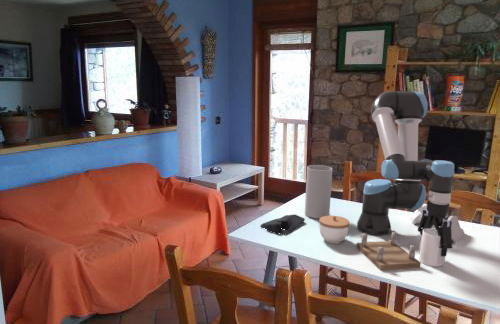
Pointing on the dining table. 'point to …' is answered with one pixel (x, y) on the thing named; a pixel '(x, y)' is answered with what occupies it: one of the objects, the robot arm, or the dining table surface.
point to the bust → (418, 214)
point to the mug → (429, 247)
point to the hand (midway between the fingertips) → (431, 256)
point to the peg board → (388, 254)
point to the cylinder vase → (318, 191)
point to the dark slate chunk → (283, 224)
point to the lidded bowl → (333, 228)
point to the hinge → (455, 228)
